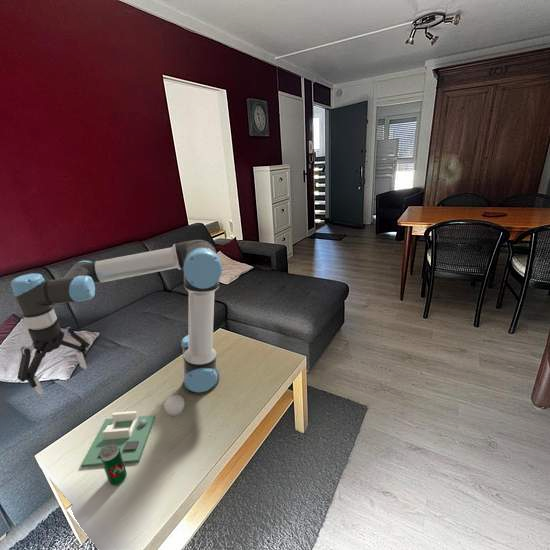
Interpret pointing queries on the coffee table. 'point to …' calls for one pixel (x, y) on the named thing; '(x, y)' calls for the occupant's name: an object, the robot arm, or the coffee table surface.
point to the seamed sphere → (174, 405)
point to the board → (121, 437)
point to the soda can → (113, 464)
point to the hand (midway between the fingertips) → (63, 379)
